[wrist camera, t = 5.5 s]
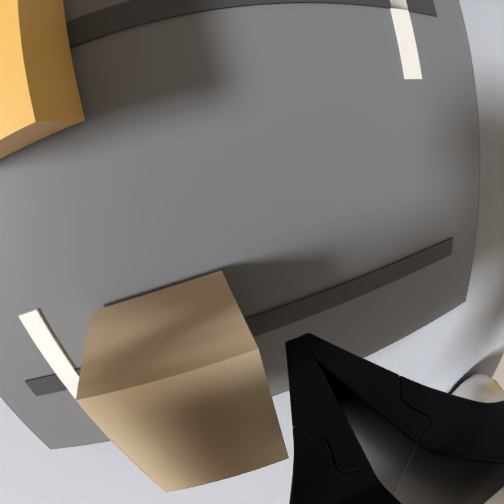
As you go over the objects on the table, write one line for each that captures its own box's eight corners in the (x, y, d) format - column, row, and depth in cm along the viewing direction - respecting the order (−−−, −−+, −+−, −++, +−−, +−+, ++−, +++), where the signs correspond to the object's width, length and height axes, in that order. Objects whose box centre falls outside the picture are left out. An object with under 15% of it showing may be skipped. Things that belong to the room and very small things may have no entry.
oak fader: (221, 270, 9) (258, 348, 6) (255, 383, 11) (288, 457, 8) (92, 310, 8) (75, 400, 5) (155, 413, 11) (166, 492, 8)
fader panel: (409, -51, 8) (439, -62, 6) (441, 284, 16) (466, 302, 14) (-95, 62, 4) (-124, 60, 2) (55, 418, 12) (50, 450, 10)
